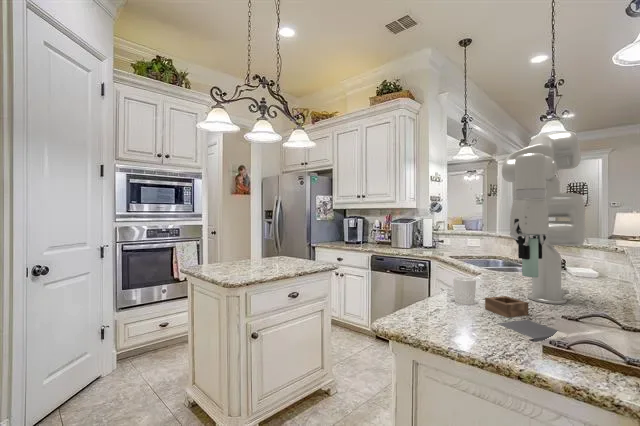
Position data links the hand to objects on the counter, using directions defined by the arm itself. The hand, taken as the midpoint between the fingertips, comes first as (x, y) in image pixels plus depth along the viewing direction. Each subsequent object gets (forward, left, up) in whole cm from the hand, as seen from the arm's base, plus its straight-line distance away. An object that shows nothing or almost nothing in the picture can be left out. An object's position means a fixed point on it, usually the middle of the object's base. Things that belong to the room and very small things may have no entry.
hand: (530, 257), depth 92 cm
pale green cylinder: (0, 0, -5) cm, 5 cm away
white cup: (-1, -28, -22) cm, 36 cm away
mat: (0, 0, -22) cm, 22 cm away
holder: (-6, -14, -22) cm, 26 cm away
